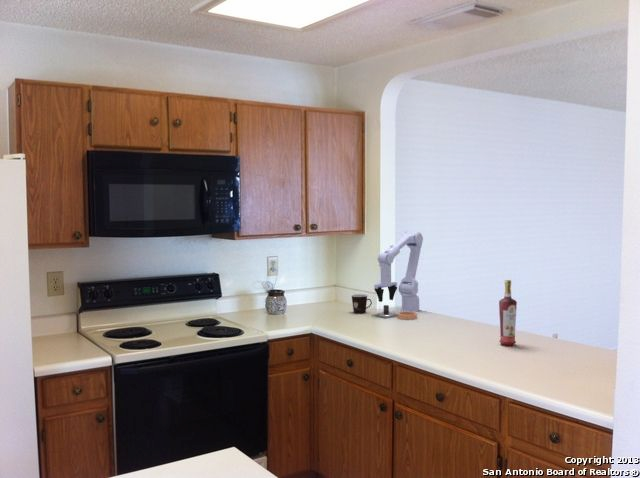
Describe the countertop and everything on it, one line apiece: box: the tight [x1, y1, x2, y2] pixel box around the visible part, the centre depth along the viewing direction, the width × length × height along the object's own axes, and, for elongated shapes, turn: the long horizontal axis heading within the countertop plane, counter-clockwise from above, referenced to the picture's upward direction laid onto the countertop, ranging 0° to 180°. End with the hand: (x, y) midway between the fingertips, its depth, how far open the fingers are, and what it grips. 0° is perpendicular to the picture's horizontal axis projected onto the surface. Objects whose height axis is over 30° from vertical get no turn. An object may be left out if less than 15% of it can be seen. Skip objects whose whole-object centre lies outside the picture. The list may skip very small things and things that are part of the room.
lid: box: [376, 304, 396, 318], centre depth 335 cm, size 10×10×5 cm
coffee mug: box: [351, 293, 373, 315], centre depth 343 cm, size 12×9×10 cm
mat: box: [370, 313, 397, 320], centre depth 335 cm, size 12×12×1 cm
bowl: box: [396, 311, 418, 321], centre depth 327 cm, size 10×10×3 cm
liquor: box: [498, 279, 518, 347], centre depth 270 cm, size 7×7×28 cm
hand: (386, 300), depth 334 cm, fingers open, 7 cm apart
